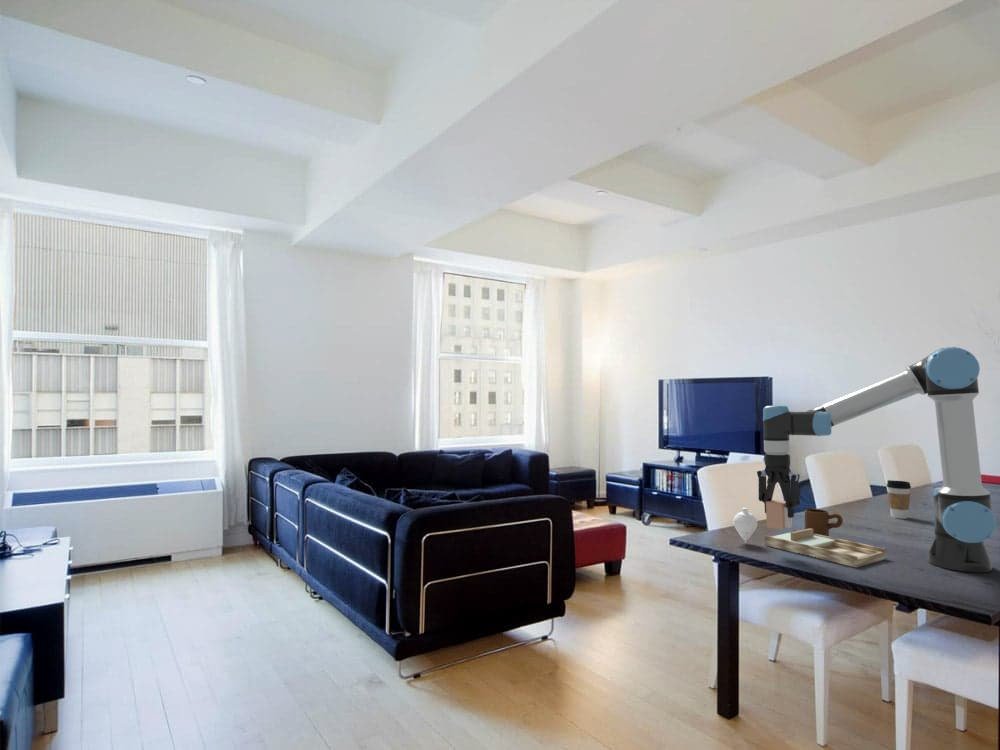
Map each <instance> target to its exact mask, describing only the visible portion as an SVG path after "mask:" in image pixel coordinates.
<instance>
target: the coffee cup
mask: <svg viewBox="0 0 1000 750" xmlns="http://www.w3.org/2000/svg"><path fill="white" fill-rule="evenodd" d="M886 482H887V483H886V487H887V490H888V491H887V496H888V504H889V511H890V518H893V519H901V520H905V519H909V510H910V509H909V508H910V501H911V500H910V499H911V493H910V492H911V490H910V489H912V486H911V482H910V481H905V480H904V481H903V480H892V479H891V480H890V479H887V481H886Z"/></svg>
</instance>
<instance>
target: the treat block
mask: <svg viewBox="0 0 1000 750" xmlns="http://www.w3.org/2000/svg"><path fill="white" fill-rule="evenodd" d="M785 506H786V502H785V500H781V499H780V500H779V499H772V501H767V502H766V513H765V516H766V517H765V519H766V527H768V528H773V529H777V530H788V529H789V528H785V513H784V507H785ZM793 518H794V517H792V527H791V528H794V527H793V526H794V523H793V522H794V520H793Z"/></svg>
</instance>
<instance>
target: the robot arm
mask: <svg viewBox="0 0 1000 750" xmlns="http://www.w3.org/2000/svg"><path fill="white" fill-rule="evenodd" d="M980 370H981V368H980V363H979V361H978V359H977V358H976V357H975V355H974V354H972V353H971V352H970V351H969V350H967V349H964V348H961V347H956V346H947V347H941V348H940V349H937V350H934V351H933V352H931V353H930V354H929V355H927V356H926V357H924V358H922V359H921V360H919V361H917V362H915V363H913V364H911V365H909V366H906V367H905V369H904V371H902V372H901V373H898V374H897V373H896V374H895V375H892V376H891V377H888V378H885V379H883V380H880V381H879V382H876V383H874V384H871V385H868V386H865V387H864V388H861V389H858V390H856V391H853V392H851V393H848V394H847V395H844V396H842V397H839V398H836V399H834V400H831V401H829V402H826V403H825V404H822V405H820V406H817V407H815V408H812V409H809V410H807V411H790V409H789V406H787V405H766V406H764V407H763V409H762V411H763V412H762V427H763V428H762V430H763V451H764V453H765V454H764V455H763V456H764V457H763V458H764V465H765V467H764V469H763V470H757V471H756V474H757V477H758V501H759V502H762V503H763V504H764V513H765V514H766V502H767V501H772V500H773V496H774V493H775V489H776V485H777V483H778V484H779V487H780V488H781V491H782V495H783V499H784V501H785V502H786V506H785V507H784V513H785V528H788V529H790V528H791V527H792V517H793V518H795V507H799V506H800V504H801V497H800V488H799V481H800V478H801V476H800V474H799V473H793V472H792V471H791V468H790V467H791V456H790V454H789V453H790V450H791V449H790V436H811V437H812V436H817V437H824V436H830V435H831V434H832V427H834V426H838V425H840V424H842V423H845V422H847V421H848V422H849V421H850V420H852V419H855V418H857V417H860V416H863V415H865V414H868V413H871V412H873V411H876V410H878V409H881V408H884V407H886V406H888V405H889V406H890V405H891V404H893V403H898V402H899V401H902V400H905V399H907V398H910V397H913V396H915V395H917V394H920V395H922V396H923V395H926V394H927V397H928V398H930V399H931V400H932V401H934V406H935V415H936V424H937V435H938V445H939V454H940V455H939V456H940V463H941V465H940V466H941V474H942V482H943V483H942V486H941V487H940V486H939V487H936V488H934V490H933V495H932V496H933V497H932V498H933V510H934V511H933V513H934V514H933V519H934V538H933V539H932V542H931V546H930V548H929V551H928V553H927V561H928V562H929V563H930V564H931V565H934V566H937V567H941V568H942V569H948V570H952V571H959V572H968V573H988V572H989V573H990V572H991V571H992V570H993V563H992V560H991V557H990V554H989V552H988V550H987V547H986V545H985V542H984V541H988V540H989V539H990V538H991V537H992V536H993V535H994V534H995V532H996V529H997V518H996V516H995V514H994V512H993V510H992V501H991V493H990V491H989V490H987V488H985V487H984V486H983V483H982V474H981V465H980V456H979V446H978V438H977V437H978V435H977V428H976V418H975V408H974V399H975V398H976V397H977V396H978V395H979V394H980V391H979V383H978V382H979V380H978V378H979V375H980ZM789 480H790V481H789ZM792 528H793V527H792Z"/></svg>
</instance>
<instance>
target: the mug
mask: <svg viewBox="0 0 1000 750" xmlns="http://www.w3.org/2000/svg"><path fill="white" fill-rule="evenodd" d="M835 518H836V519H837V521H836V522H830V520H832V519H835ZM843 521H844V520H843V517H842V516H841V515H840V514H839V513H835V512H834V513H830V514H829V511H828V510H825V509H820V508H806V509H804V529H809V528H811V529H813V533H814V534H819V535H823V536H828V537H830V536H829V535H830V530H831V529H837V528H839V527H841V526H842V525H843V523H844V522H843Z"/></svg>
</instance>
